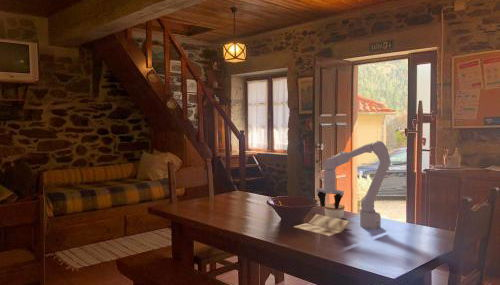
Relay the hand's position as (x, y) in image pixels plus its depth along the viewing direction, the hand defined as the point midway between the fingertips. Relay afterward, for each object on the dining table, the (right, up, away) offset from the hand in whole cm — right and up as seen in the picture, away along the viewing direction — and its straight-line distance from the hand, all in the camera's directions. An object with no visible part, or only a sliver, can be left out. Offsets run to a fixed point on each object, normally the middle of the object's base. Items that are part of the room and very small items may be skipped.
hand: (329, 207), depth 201 cm
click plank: (-1, -8, -4) cm, 9 cm away
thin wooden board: (-8, -10, -10) cm, 16 cm away
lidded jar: (+5, -9, +13) cm, 17 cm away
